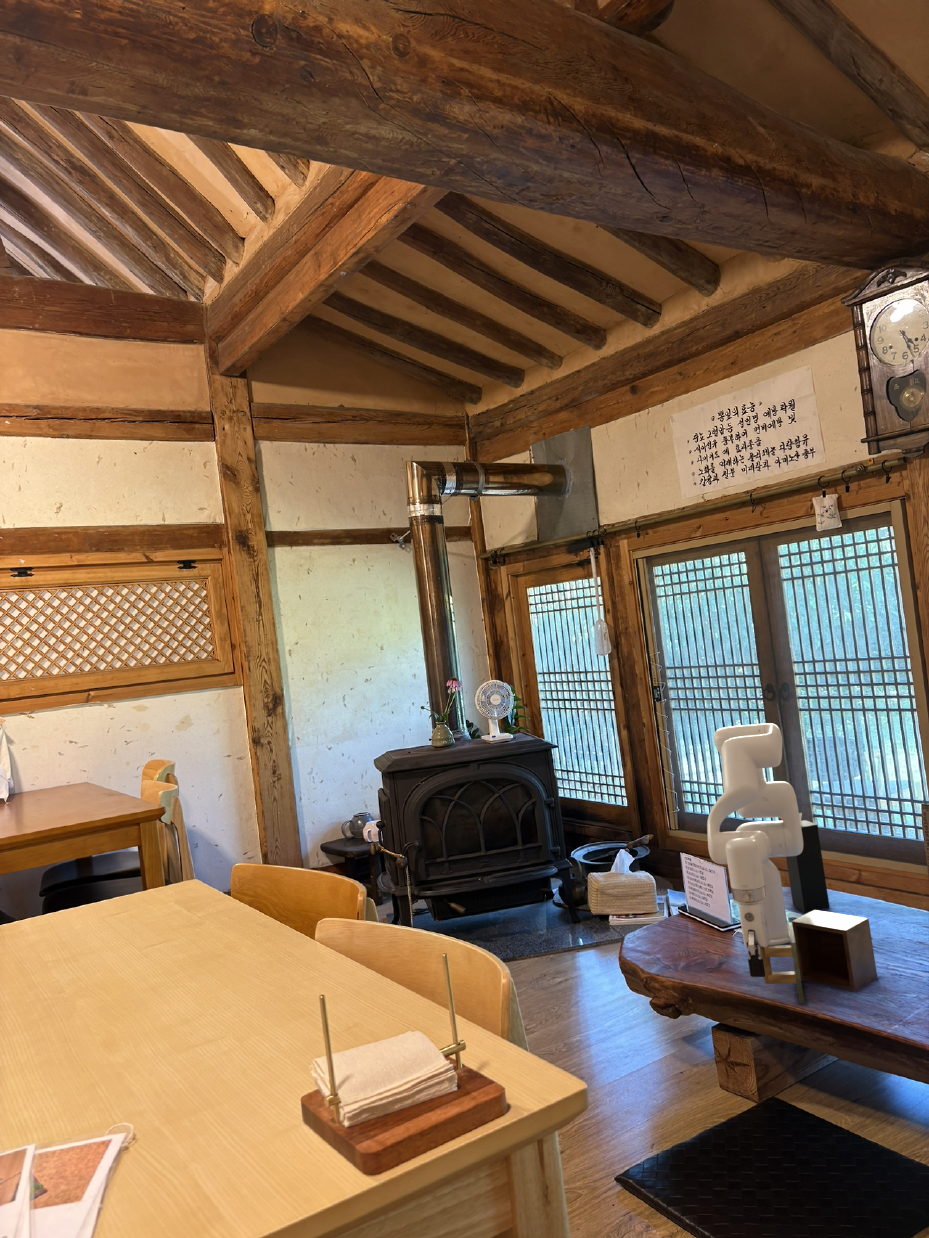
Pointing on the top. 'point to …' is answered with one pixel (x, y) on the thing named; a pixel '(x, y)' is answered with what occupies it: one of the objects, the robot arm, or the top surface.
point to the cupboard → (835, 950)
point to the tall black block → (808, 872)
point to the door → (783, 976)
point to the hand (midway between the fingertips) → (759, 968)
